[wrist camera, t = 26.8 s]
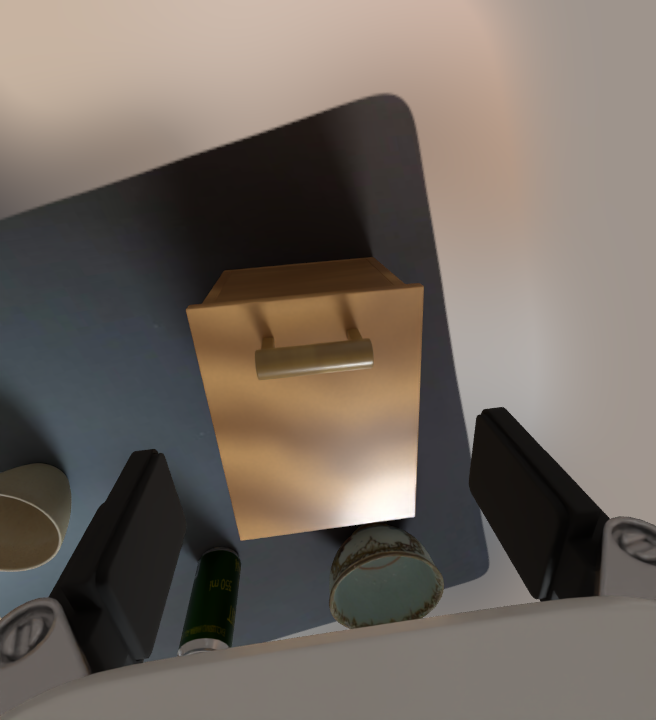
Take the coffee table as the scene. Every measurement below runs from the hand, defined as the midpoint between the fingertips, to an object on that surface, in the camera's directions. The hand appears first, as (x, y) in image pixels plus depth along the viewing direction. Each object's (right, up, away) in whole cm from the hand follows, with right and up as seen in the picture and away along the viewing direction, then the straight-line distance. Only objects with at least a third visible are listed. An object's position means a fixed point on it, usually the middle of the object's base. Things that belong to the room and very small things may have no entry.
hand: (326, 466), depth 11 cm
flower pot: (-31, -10, +30) cm, 44 cm away
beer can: (-14, -23, +38) cm, 47 cm away
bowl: (+6, -20, +40) cm, 45 cm away
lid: (-1, -1, +15) cm, 15 cm away
